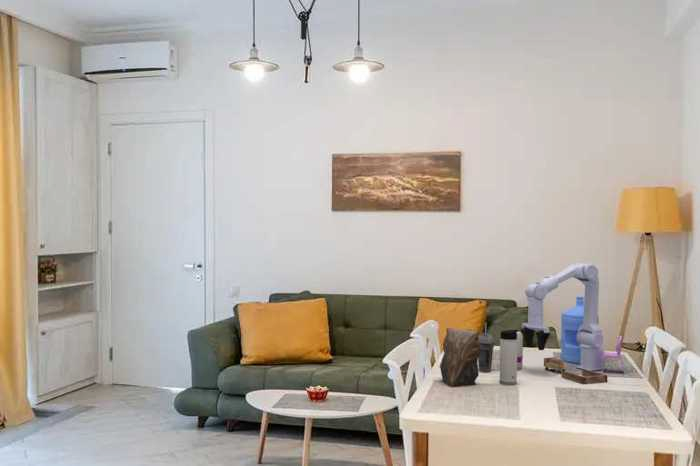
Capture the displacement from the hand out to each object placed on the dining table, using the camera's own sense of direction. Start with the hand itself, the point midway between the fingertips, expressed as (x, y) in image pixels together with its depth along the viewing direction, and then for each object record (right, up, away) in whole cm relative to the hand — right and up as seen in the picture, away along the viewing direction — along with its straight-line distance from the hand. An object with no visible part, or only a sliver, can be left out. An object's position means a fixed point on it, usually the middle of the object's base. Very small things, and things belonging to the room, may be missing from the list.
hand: (535, 348), depth 274 cm
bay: (+16, -10, -9) cm, 21 cm away
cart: (+10, -10, +5) cm, 15 cm away
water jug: (+27, -10, +28) cm, 40 cm away
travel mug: (-14, -10, -17) cm, 25 cm away
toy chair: (+33, -11, +5) cm, 35 cm away
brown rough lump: (-34, -10, -19) cm, 40 cm away
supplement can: (-7, -10, +10) cm, 16 cm away
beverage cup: (-19, -10, +4) cm, 22 cm away
